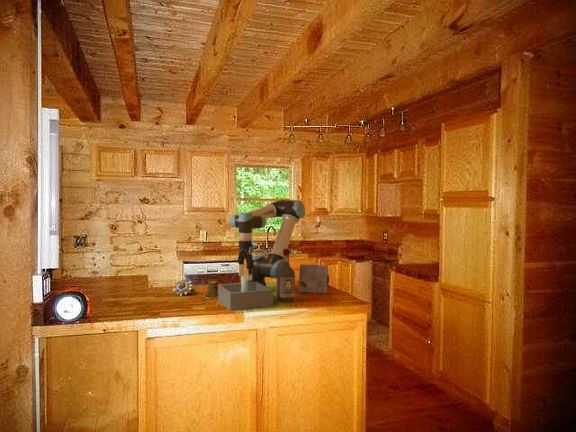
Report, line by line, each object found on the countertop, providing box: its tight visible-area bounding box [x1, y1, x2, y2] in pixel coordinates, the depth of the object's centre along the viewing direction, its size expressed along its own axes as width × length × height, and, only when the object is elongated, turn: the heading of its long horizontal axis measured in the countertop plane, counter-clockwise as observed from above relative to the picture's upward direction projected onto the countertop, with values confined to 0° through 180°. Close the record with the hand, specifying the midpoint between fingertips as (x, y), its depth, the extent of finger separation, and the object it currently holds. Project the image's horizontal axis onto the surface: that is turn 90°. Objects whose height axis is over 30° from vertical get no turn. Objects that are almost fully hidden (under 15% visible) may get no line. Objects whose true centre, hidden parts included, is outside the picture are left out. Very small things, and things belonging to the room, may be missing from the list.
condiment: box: [202, 275, 219, 299], centre depth 236 cm, size 7×8×12 cm
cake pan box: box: [298, 263, 330, 294], centre depth 252 cm, size 19×5×18 cm, turn 84°
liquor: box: [276, 248, 296, 303], centre depth 228 cm, size 9×9×30 cm
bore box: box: [217, 282, 274, 312], centre depth 221 cm, size 24×24×9 cm
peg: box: [240, 275, 248, 292], centre depth 221 cm, size 4×4×15 cm
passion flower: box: [171, 277, 196, 297], centre depth 240 cm, size 11×11×12 cm
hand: (245, 278), depth 221 cm, fingers open, 13 cm apart
